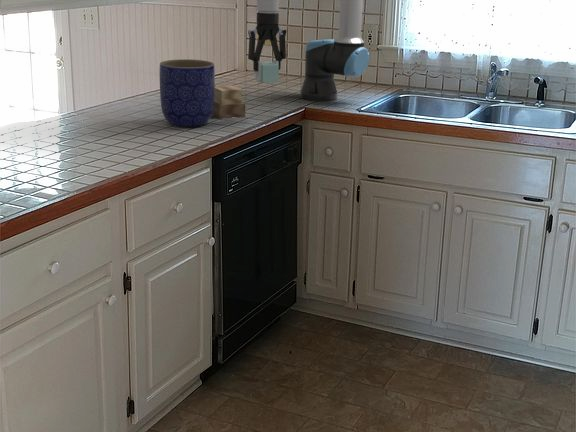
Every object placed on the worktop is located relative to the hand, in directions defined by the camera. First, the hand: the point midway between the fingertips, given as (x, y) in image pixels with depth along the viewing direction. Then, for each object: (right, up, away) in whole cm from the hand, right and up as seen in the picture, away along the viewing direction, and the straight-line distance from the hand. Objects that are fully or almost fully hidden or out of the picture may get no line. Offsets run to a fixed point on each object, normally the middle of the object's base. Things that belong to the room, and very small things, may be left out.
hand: (266, 79), depth 284 cm
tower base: (-15, -11, +10) cm, 21 cm away
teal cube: (0, 0, 0) cm, 0 cm away
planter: (-27, -16, -5) cm, 32 cm away
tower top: (-14, -7, +8) cm, 18 cm away
